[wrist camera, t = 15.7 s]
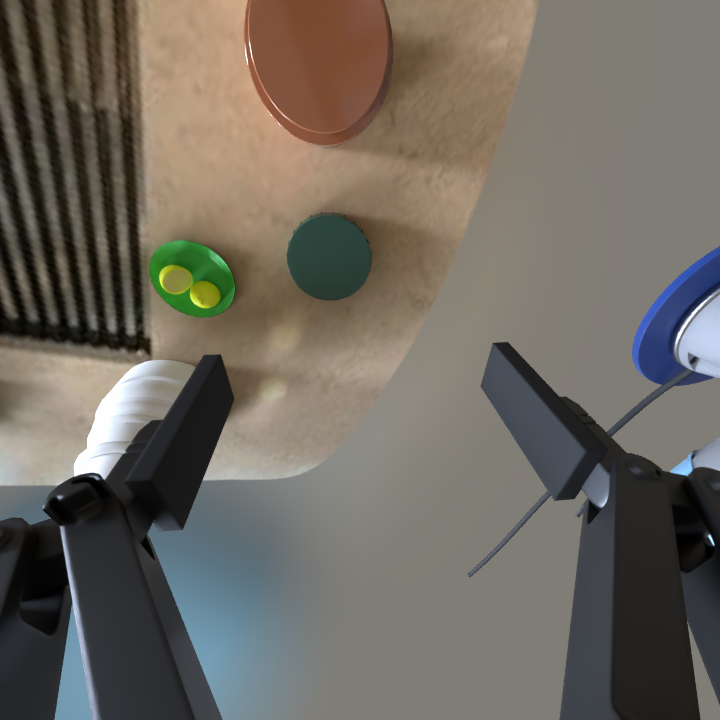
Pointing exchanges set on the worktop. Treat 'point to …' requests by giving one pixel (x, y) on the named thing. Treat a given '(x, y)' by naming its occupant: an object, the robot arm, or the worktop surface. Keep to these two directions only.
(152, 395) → the honey pot
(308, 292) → the jar lid
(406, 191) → the worktop surface
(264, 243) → the worktop surface
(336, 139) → the jam jar
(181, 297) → the lemons on plate
